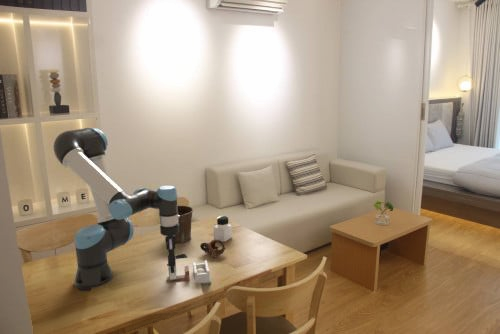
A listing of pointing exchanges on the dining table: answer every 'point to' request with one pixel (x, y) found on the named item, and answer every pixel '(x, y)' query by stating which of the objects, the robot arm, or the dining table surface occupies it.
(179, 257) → the phone
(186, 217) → the plant pot
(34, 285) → the dining table surface
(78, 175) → the robot arm
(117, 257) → the dining table surface
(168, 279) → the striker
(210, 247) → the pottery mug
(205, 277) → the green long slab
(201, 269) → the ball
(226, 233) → the medicine bottle
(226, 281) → the dining table surface
